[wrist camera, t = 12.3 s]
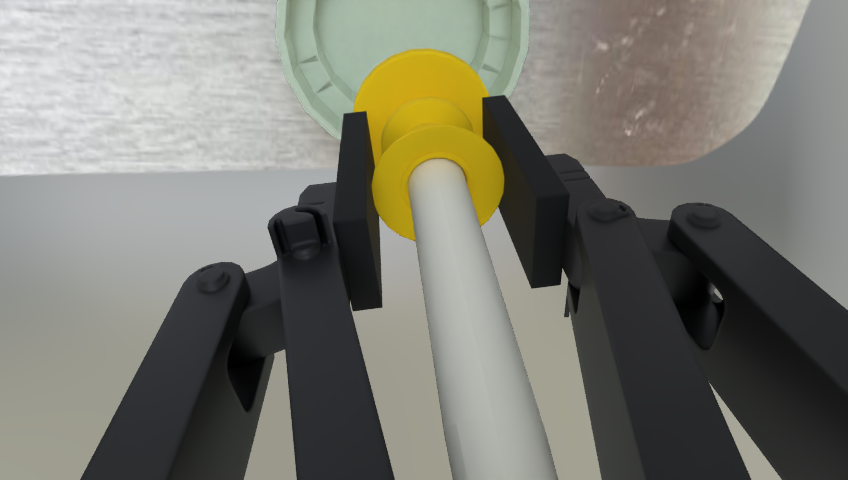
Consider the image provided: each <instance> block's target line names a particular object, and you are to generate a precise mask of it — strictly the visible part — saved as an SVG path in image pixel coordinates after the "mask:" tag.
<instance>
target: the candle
mask: <svg viewBox="0 0 848 480" xmlns="http://www.w3.org/2000/svg"><path fill="white" fill-rule="evenodd" d="M482 97H490V96H489V93H488V91H487V89H486V87H485V86H484V84H483V82H482V80H481V78H480V77H479V75H478V74H477V73H476V72H475V71H474V70H473V69H472V68H471V67H470V66H469V65H468V64H467V63H466V62H465V61H463V60H462V59H460V58H458V57H456V56H454V55H453V54H451V53H449V52H445V51H440V50H436V49H431V48H424V49H410V50H407V51H404V52H401V53H398V54H395V55H392V56H390V57H389V58H387V59H386V60H384V61H383V62H381V63H380V64H378V65H377V66H375V68H374V69H373V70H372V71H371V72H370V73H369V75H368V76H367V77H366V78H365V79H364V80H363V82H362V84H361V86H360V89H359V91H358V93H357V95H356V97H355V102H354V108H353V112H361V111H366V112H367V118H368V125H369V131H370V137H371V144H372V150H373V156H374V163H375V169H374V174H373V179H372V184H371V187H372V193H373V199H374V205H375V208H376V210H377V212H378V215H379V216H380V217H381V219H382V220H383V221H384V222H385V224H386V225H387V226H388V227H389V228H390V229H392V230H393V231H395V232H396V233H398V234H399V235H400V236H403V237H405V238H408V239H410V240H413V241H416V246H417V253H418V259H419V266H420V273H421V280H422V286H423V293H424V300H425V307H426V314H427V320H428V327H429V334H430V340H431V347H432V354H433V360H434V368H435V375H436V381H437V388H438V394H439V402H440V408H441V415H442V422H443V428H444V435H445V441H446V446H447V451H448V456H449V462H450V467H451V472H452V477H453V480H558V477H557V474H556V469H555V466H554V462H553V458H552V454H551V451H550V447H549V443H548V439H547V436H546V432H545V430H544V426H543V423H542V420H541V417H540V413H539V410H538V407H537V404H536V401H535V398H534V394H533V391H532V388H531V385H530V382H529V379H528V375H527V372H526V369H525V366H524V363H523V360H522V356H521V353H520V350H519V347H518V344H517V341H516V337H515V334H514V331H513V328H512V325H511V322H510V319H509V315H508V312H507V309H506V306H505V303H504V299H503V296H502V293H501V290H500V287H499V284H498V280H497V277H496V274H495V271H494V268H493V265H492V261H491V259H490V255H489V252H488V249H487V246H486V243H485V240H484V236H483V233H482V230H481V226H482V225H483V224H484V223H486V222H487V221H488V220H489V219H490V217H491V216H492V215H493V213H494V212H495V210H496V209H497V207H498V205H499V203H500V200H501V197H502V195H503V190H504V173H503V168H502V164H501V161H500V159H499V157H498V156H497V154H496V152H495V151H494V149H493V147H492V146H491V145H490V144H488V143H487V142H486V141H485V140H484V139H483V124H482Z"/></svg>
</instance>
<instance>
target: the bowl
mask: <svg viewBox="0 0 848 480" xmlns="http://www.w3.org/2000/svg"><path fill="white" fill-rule="evenodd" d="M529 20H530V6H529V3H528V0H277V9H276V26H275V39H276V43H277V47H278V51H279V55H280V59H281V63H282V67H283V71H284V75H285V78H286V80H287V81H288V83H289V85H290V86H291V88H292V90H293V91H294V93H295V95H296V97H297V98H298V100H299V102H300V103H301V105H302V107H303V108H304V110H305V111H306V112H307V113H308V114H309V115H310V116H311V117H312V118H313V119H314V120H315V121H316V122H317V123H318V124H320V125H321V126H322V127H323V128H324V129H325V130H326V131H327V132H328V133H329V134H330V135H331V136H334V138H336V139H338V140H340V141H341V133H342V123H343V114H344V113H352V112H353V108H354V102H355V97H356V95H357V93H358V91H359V89H360V86H361V84H362V82H363V80H364V79H365V78H366V77H367V76H368V75H369V73H370V72H371V71H372V70H373V69H374V68H375V66H377V65H378V64H380V63H381V62H383V61H384V60H386V59H387V58H389V57H390V56H392V55H395V54H398V53H401V52H404V51H407V50H410V49H424V48H431V49H436V50H440V51H445V52H449V53H451V54H453V55H454V56H456V57H458V58H460V59H462V60H463V61H465V62H466V63H467V64H468V65H469V66H470V67H471V68H472V69H473V70H474V71H475V72H476V73H477V74H478V75H479V77H480V78H481V80H482V82H483V84H484V86H485V87H486V89H487V91H488V93H489V96H499V95H505V96H506V98H507V99H508V98H509V96H510V95H511V93H512V92H513V90H514V89H515V87H516V85H517V82H518V79H519V76H520V73H521V70H522V67H523V64H524V61H525V58H526V55H527V52H528V45H529Z"/></svg>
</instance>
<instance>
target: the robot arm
mask: <svg viewBox="0 0 848 480" xmlns="http://www.w3.org/2000/svg"><path fill="white" fill-rule="evenodd" d="M482 124H483V139H484V140H485V141H486V142H487V143H488V144H490V145H491V146H492V147H493V149H494V151H495V152H496V154H497V156H498V157H499V159H500V161H501V164H502V168H503V173H504V190H503V195H502V197H501V200H500V203H499V205H498V207H499V210H500V213H501V215H502V217H503V220H504V222H505V225H506V227H507V230H508V232H509V235H510V237H511V239H512V242H513V244H514V247H515V249H516V252H517V254H518V256H519V259H520V261H521V264H522V266H523V269H524V271H525V273H526V276H527V279H528V281H529V283H530V286H531V288H540V287H547V286H555V285H560V284H561V275H562V268H563V270H564V272H565V274H566V276H567V278H568V280H569V281H568V288H567V297H566V305H565V306H566V307H565V314H564V317H569V312H570V315H571V320H572V326H573V330H574V336H575V341H576V347H577V352H578V357H579V362H580V367H581V373H582V378H583V383H584V389H585V394H586V399H587V404H588V409H589V415H590V420H591V425H592V430H593V435H594V441H595V446H596V452H597V456H598V462H599V467H600V473H601V478H602V480H751V478H750V476H749V473H748V471H747V469H746V467H745V464H744V462H743V460H742V457H741V455H740V453H739V451H738V448H737V446H736V444H735V441H734V439H733V437H732V434H731V432H730V430H729V427H728V425H727V423H726V421H725V418H724V416H723V414H722V411H721V409H720V407H719V405H718V403H717V400H716V398H715V395H714V393H713V391H712V389H711V386H710V384H711V385H712V386H713V388H714V389H715V390H716V392H717V393H718V395H719V396H720V397H721V399H722V400H723V401H724V403H725V404H726V405H727V407H728V408H729V409H730V411H731V412H732V413H733V415H734V416H735V417H736V419H737V420H738V421H739V423H740V424H741V425H742V427H743V428H744V429H745V431H746V432H747V433H748V435H749V436H750V437H751V439H752V440H753V441H754V443H755V444H756V445H757V447H758V448H759V449H760V451H761V452H762V453H763V455H764V456H765V457H766V459H767V460H768V461H769V463H770V464H771V465H772V467H773V468H774V469H775V471H776V472H777V473H778V475H779V476H780V477H781V479H782V480H848V310H847V309H845V308H844V307H843V306H842V305H840V304H839V303H838V302H837V301H836V300H835V299H833V298H832V297H831V296H830V295H828V294H827V293H826V292H825V291H824V290H822V289H821V288H820V287H819V286H818V285H816V284H815V283H814V282H813V281H812V280H810V279H809V278H808V277H807V276H806V275H804V274H803V273H802V272H801V271H800V270H798V269H797V268H796V267H795V266H794V265H792V264H791V263H790V262H789V261H787V260H786V259H785V258H784V257H782V255H780V254H779V253H778V252H777V251H775V250H774V249H773V248H772V247H770V246H769V245H768V244H767V243H766V242H765V241H763V240H762V239H761V238H760V237H759V236H757V235H756V234H755V233H754V232H753V231H751V230H750V229H749V228H748V227H746V226H745V225H744V224H743V223H742V222H741V221H739V220H738V219H737V218H736V217H734V216H733V215H732V214H731V213H729V212H727V211H726V210H724V209H722V208H719V207H716V206H713V205H711V204H706V203H705V204H704V203H686V204H683V205H679V206H677V207H676V208H675V209H674V210H673V211H672V215H671V219H670V220H655V219H644V218H637V217H636V215H635V213H634V211H633V210H632V209H631V207H630V206H628V205H626V204H625V203H623V202H621V201H617V200H614V199H609V198H606V197H605V196H604V194H603V193H602V192H601V191H600V189H599V188H598V186H597V185H596V184H595V183H594V181H593V180H592V179H590V176H589V175H588V173H587V172H586V171H584V168H583V167H582V166H581V164H580V163H579V162H578V160H576V159H574V158H572V157H570V156H568V155H567V154H565V153H564V154H556V155H547V156H545V155H544V154H543V152H542V151H541V149H540V148H539V146H538V145H537V143H536V142H535V140H534V139H533V137H532V136H531V134H530V133H529V131H528V130H527V128H526V127H525V125H524V124H523V122H522V121H521V119H520V117H519V116H518V114H517V113H516V111H515V110H514V108H513V107H512V105H511V104H510V102H509V101H508V99H507V98H506V96H505V95H499V96H490V97H482ZM374 169H375V163H374V156H373V150H372V144H371V137H370V131H369V125H368V118H367V112H366V111H361V112H352V113H344V114H343V123H342V133H341V143H340V153H339V163H338V172H337V182H332V183H324V184H316V185H309V186H308V187H307V188H306V189H305V190H304V191H303V192H302V194H301V195H300V197H299V202H298V205H297V206H293V207H290V208H287V209H284V210H282V211H280V212H279V213H277V214H275V215H274V216H273V217H272V218H271V219H270V220H269V223H268V230H269V233H270V236H271V240H272V243H273V246H274V249H275V252H276V255H277V261H275V262H274V263H272V264H270V265H268V266H266V267H263V268H261V269H258V270H255V271H252V272H249V273H246V274H245V273H244V271H243V269H242V268H241V267H240V265H237V264H235V263H232V262H220V263H215V264H211V265H207V266H205V267H203V268H201V269H199V270H197V271H196V272H194V273H193V274H192V275H190V276H189V277H188V278H187V280H186V281H185V282H184V283H183V285H182V287H181V289H180V291H179V293H178V295H177V297H176V299H175V300H174V303H173V304H172V306H171V308H170V310H169V312H168V314H167V316H166V318H165V319H164V321H163V323H162V325H161V327H160V329H159V331H158V333H157V335H156V337H155V339H154V341H153V342H152V345H151V346H150V348H149V350H148V352H147V354H146V356H145V357H144V360H143V361H142V363H141V365H140V367H139V369H138V371H137V373H136V375H135V377H134V378H133V380H132V382H131V384H130V386H129V388H128V390H127V392H126V394H125V396H124V397H123V400H122V401H121V403H120V405H119V407H118V409H117V411H116V413H115V415H114V416H113V418H112V420H111V422H110V424H109V426H108V428H107V430H106V432H105V434H104V436H103V437H102V439H101V441H100V443H99V445H98V447H97V449H96V451H95V453H94V454H93V456H92V458H91V460H90V462H89V464H88V466H87V468H86V470H85V472H84V474H83V476H82V477H81V479H80V480H244V476H245V472H246V468H247V464H248V460H249V456H250V452H251V448H252V444H253V441H254V437H255V432H256V428H257V425H258V420H259V416H260V412H261V409H262V404H263V401H264V396H265V393H266V389H267V385H268V381H269V377H270V373H271V369H272V365H273V361H274V353H276V352H278V351H281V350H283V349H285V351H286V362H287V373H288V385H289V396H290V408H291V419H292V430H293V441H294V452H295V463H296V475H297V480H395V479H394V475H393V471H392V467H391V463H390V459H389V455H388V451H387V448H386V444H385V440H384V436H383V432H382V428H381V424H380V420H379V416H378V413H377V409H376V405H375V401H374V397H373V393H372V390H371V385H370V382H369V378H368V374H367V371H366V366H365V362H364V359H363V354H362V351H361V347H360V343H359V339H358V335H357V331H356V328H355V323H354V320H353V316H352V312H351V308H350V301H351V305H352V310H353V311H359V310H367V309H374V308H381V307H382V284H381V258H380V231H379V215H378V212H377V210H376V208H375V205H374V199H373V193H372V187H371V184H372V179H373V174H374ZM715 287H716V288H717V289H718V291H719V292H720V294H721V295H722V298H723V300H721V299H720V298H719V297H718V296H717V295H716V294H715V293H714V290H715ZM708 381H709V382H708ZM709 383H710V384H709Z"/></svg>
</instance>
